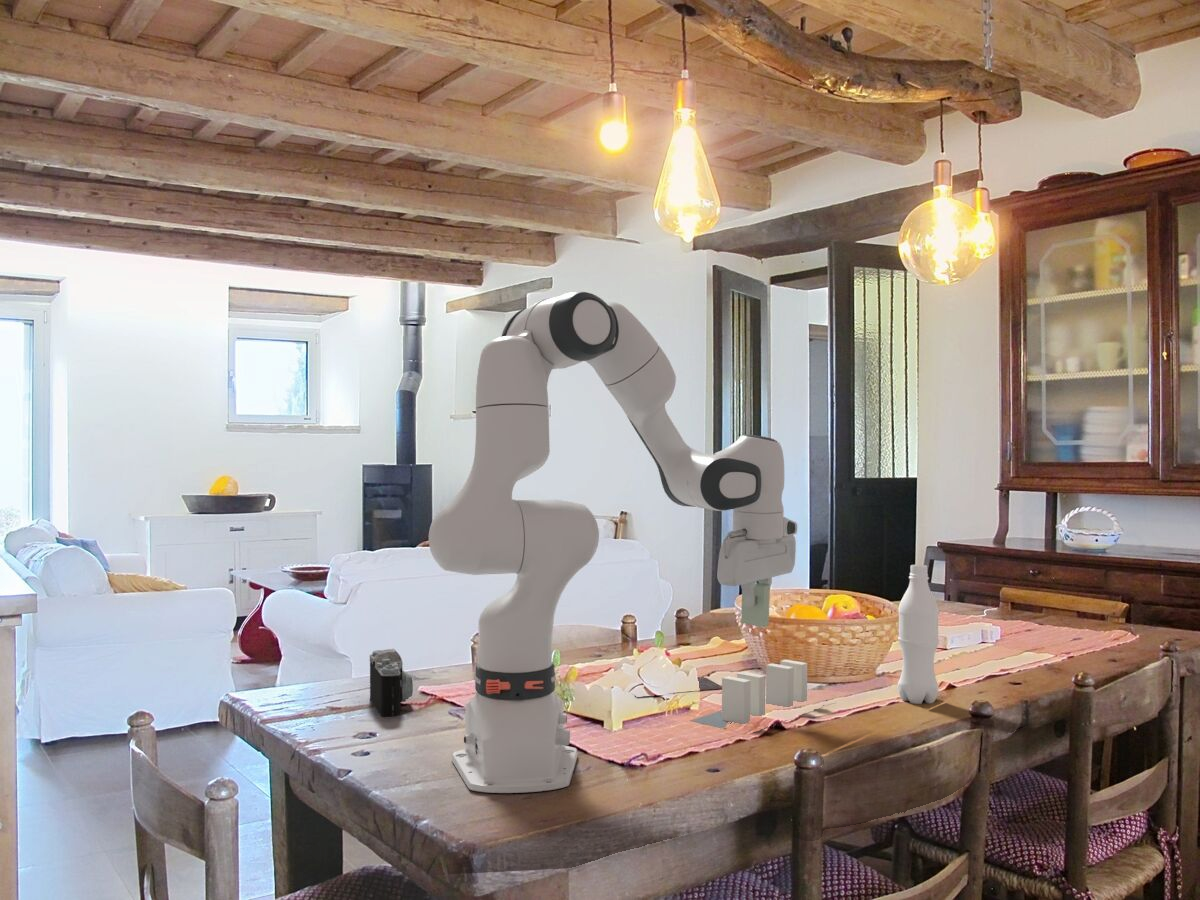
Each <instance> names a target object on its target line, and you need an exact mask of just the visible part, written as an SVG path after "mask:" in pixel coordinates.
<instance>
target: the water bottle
mask: <svg viewBox="0 0 1200 900" xmlns="http://www.w3.org/2000/svg"><path fill="white" fill-rule="evenodd" d="M909 568H910V572H909V576H908V579H909V583H908V587H907V589H906V590H905V592H904V594H903V596H902V598H901V600H900V601H899V604H898V610H897V611H898V637H897V641H898V644H899V646H900V649H901V653H902V654H901V656H902V667H901V668H902V669H901V674H900V678H899V680H898V681H897V690H898V693H899V697H900V699H901V700H902V701H905V702H907V701H909V702H910V704H916V705H922V703H923V701H924V702H925V704H926V703H927V704H933V703H934V702H936V699H937V697H938V694H939V683H938V681H937V678H936V673H935V662H934V661H935V654H936V651H937V648H938V647H939V644H940V640H939V615H940V608H939V606H938V603H937V601H936V598H935V596H934V595H933V593H932V591H931V589H930V585H929V579H930V577H929V574H928V565H925V564H911V565H910V567H909Z"/></svg>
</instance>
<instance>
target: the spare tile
mask: <svg viewBox="0 0 1200 900" xmlns="http://www.w3.org/2000/svg"><path fill="white" fill-rule="evenodd" d="M753 588H754V592H755V596H758V600H757V602H758V604H757V605H755V606H752V607H751V606H746V605H745V596H744V593H743V591H742V590H741V615H740V621H741V624H744V625H749V626H754V627H761V628H766V627H769V626H770V601H771V600H770V599H771V598H770V596H771V586H770V585H765V584H759V582H755V587H753Z"/></svg>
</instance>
